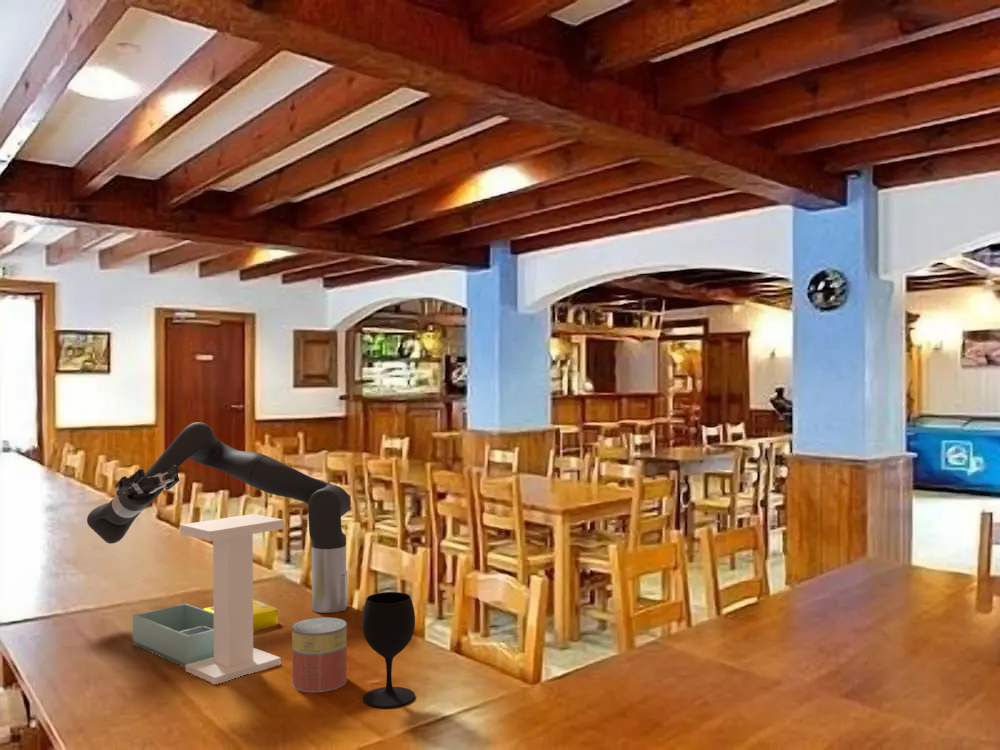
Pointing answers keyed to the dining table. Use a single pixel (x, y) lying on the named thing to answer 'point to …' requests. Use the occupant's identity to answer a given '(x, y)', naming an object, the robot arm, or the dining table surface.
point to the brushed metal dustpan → (194, 630)
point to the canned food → (319, 654)
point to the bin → (175, 633)
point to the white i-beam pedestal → (232, 596)
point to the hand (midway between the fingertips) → (159, 470)
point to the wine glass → (388, 641)
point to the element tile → (260, 615)
